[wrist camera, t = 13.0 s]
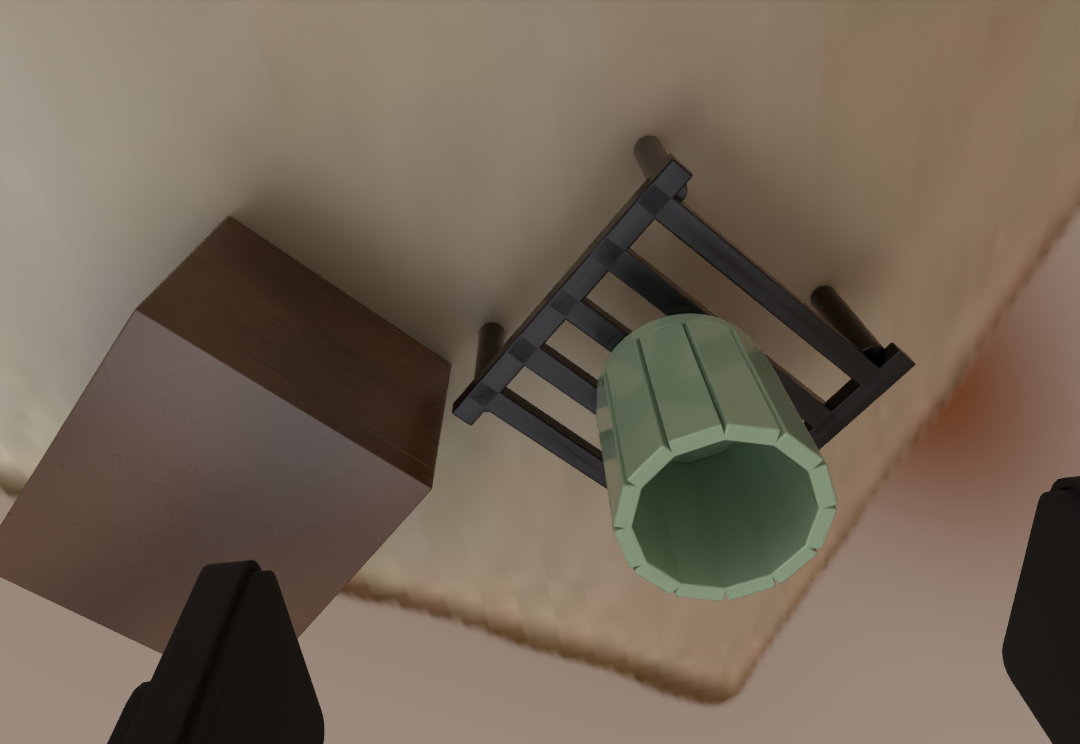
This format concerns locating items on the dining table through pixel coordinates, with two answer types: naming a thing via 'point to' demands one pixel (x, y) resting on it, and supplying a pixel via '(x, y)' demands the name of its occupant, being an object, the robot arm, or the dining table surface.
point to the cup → (708, 461)
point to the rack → (610, 251)
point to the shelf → (229, 445)
